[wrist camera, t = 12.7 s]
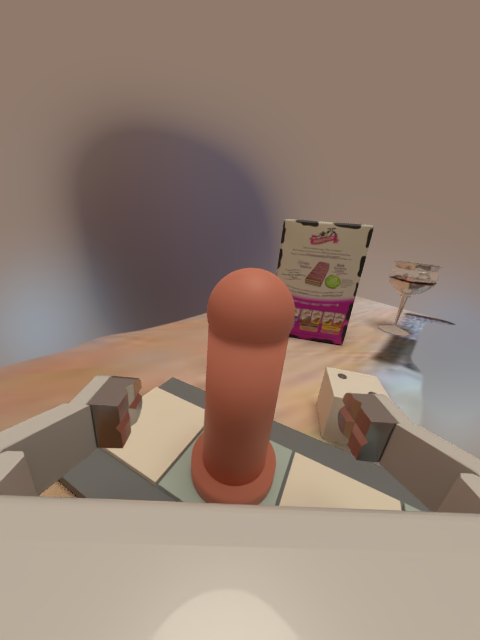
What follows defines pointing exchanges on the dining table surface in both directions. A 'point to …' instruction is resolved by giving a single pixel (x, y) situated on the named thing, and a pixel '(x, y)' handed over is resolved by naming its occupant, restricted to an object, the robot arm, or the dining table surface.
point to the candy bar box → (322, 275)
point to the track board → (176, 450)
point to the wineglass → (409, 286)
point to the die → (341, 398)
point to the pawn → (242, 386)
